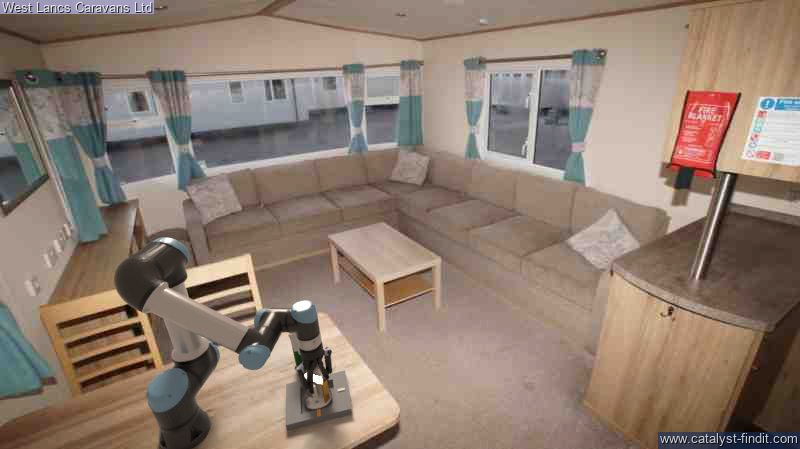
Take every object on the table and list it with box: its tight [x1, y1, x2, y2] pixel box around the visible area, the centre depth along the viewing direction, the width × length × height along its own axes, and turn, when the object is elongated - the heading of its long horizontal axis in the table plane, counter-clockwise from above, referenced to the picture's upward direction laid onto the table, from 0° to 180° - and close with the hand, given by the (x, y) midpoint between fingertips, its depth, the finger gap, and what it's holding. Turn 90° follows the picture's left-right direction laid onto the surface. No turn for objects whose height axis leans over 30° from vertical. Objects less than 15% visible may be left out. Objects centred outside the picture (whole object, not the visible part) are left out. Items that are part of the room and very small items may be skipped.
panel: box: [285, 370, 353, 431], centre depth 136 cm, size 22×18×3 cm
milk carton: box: [287, 332, 316, 371], centre depth 150 cm, size 9×9×20 cm
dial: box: [304, 372, 332, 411], centre depth 134 cm, size 10×10×10 cm
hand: (320, 394), depth 135 cm, fingers closed on dial, 3 cm apart
